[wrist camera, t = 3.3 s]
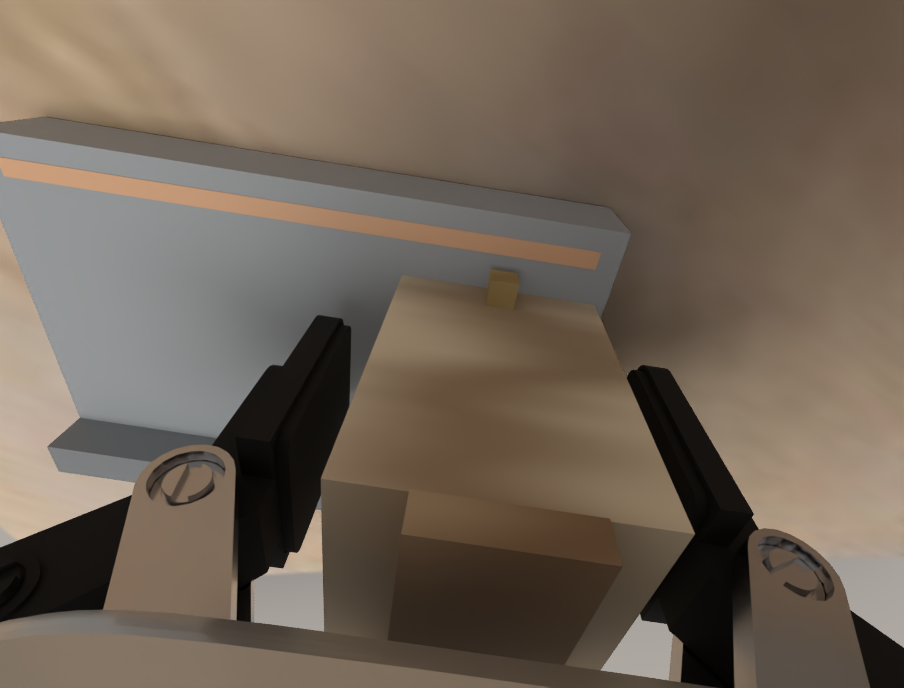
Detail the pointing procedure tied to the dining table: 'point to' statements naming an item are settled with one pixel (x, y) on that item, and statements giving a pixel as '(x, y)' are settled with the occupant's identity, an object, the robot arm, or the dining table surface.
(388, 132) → the dining table surface
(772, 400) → the dining table surface
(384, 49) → the dining table surface
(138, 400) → the board
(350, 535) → the tan wooden block
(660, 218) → the dining table surface
